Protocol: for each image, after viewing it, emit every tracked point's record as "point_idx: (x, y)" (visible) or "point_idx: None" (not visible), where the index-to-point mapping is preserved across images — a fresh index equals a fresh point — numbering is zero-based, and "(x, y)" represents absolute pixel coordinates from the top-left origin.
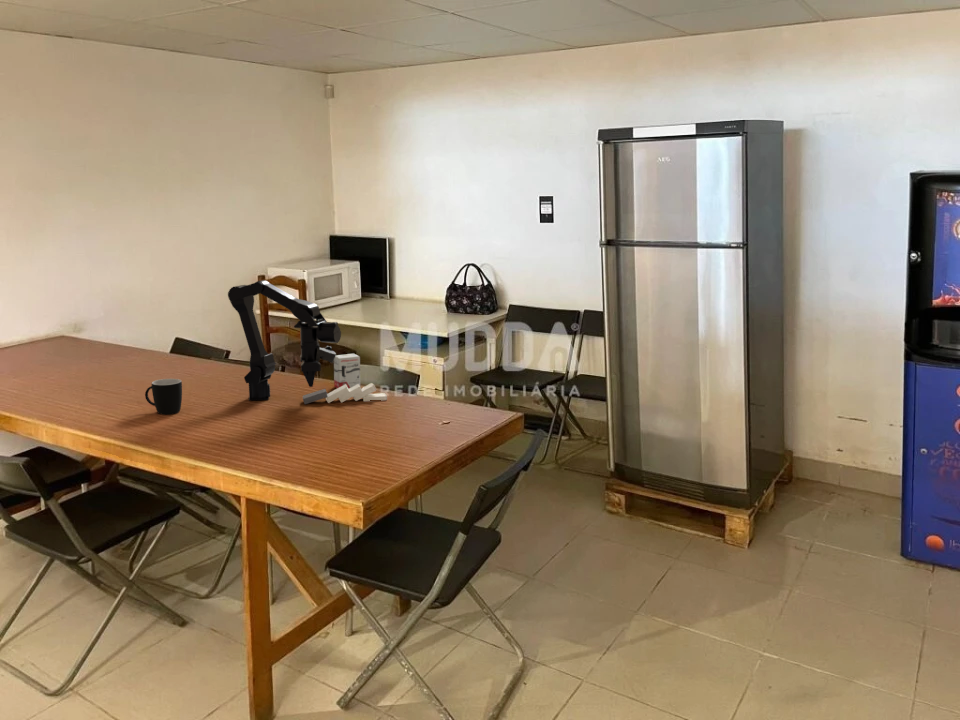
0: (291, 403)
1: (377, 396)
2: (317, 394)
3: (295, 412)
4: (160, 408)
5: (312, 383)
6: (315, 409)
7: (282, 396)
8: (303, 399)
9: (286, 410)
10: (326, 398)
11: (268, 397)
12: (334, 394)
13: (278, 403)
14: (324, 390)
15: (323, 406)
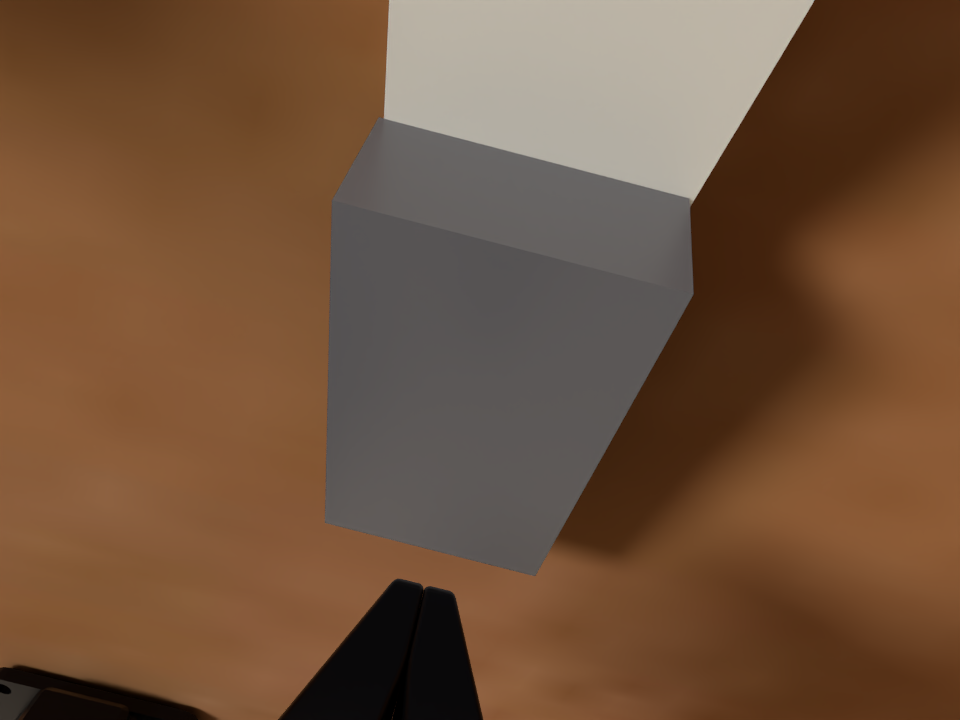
0: None
1: None
2: (613, 430)
3: (889, 675)
4: None
5: (469, 677)
6: (939, 456)
7: (42, 575)
8: (536, 560)
9: (725, 709)
10: None
11: (145, 716)
12: (784, 29)
13: None
14: (519, 277)
15: (844, 297)
